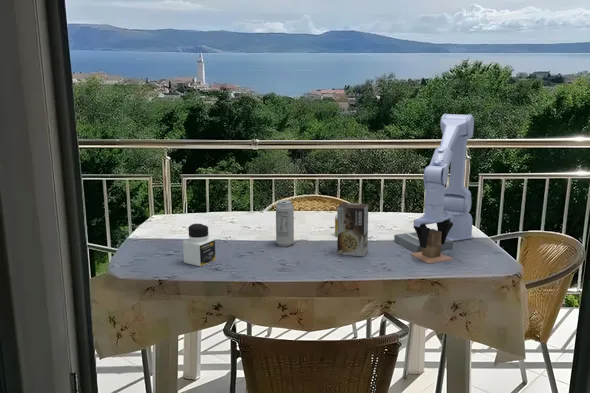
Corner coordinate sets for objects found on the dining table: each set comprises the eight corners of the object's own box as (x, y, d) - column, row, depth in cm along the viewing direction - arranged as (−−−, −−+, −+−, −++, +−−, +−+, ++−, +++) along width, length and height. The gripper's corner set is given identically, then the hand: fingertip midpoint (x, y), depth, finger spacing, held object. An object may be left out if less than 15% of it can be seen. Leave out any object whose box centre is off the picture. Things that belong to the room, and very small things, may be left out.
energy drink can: (297, 244, 195) (297, 201, 192) (285, 248, 191) (284, 204, 188) (284, 240, 199) (284, 199, 196) (272, 244, 195) (272, 202, 192)
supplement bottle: (348, 237, 203) (349, 211, 200) (333, 237, 204) (334, 210, 201) (350, 233, 208) (351, 207, 206) (335, 232, 209) (336, 207, 207)
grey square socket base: (427, 237, 203) (428, 227, 202) (452, 248, 190) (453, 238, 190) (394, 241, 198) (394, 231, 197) (417, 253, 185) (417, 243, 184)
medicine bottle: (200, 267, 174) (199, 229, 171) (183, 262, 177) (181, 225, 175) (216, 260, 180) (214, 223, 177) (198, 256, 183) (197, 220, 181)
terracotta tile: (434, 251, 187) (434, 249, 187) (452, 259, 179) (452, 258, 179) (411, 254, 184) (411, 253, 184) (428, 263, 176) (428, 261, 176)
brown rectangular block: (431, 252, 184) (432, 228, 182) (440, 256, 181) (441, 231, 179) (422, 254, 182) (423, 230, 180) (430, 258, 179) (432, 233, 177)
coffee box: (368, 251, 188) (369, 203, 184) (363, 257, 182) (365, 208, 178) (341, 248, 191) (341, 201, 187) (336, 254, 185) (336, 206, 181)
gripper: (442, 198, 184) (440, 238, 187) (407, 203, 177) (406, 245, 180) (458, 202, 178) (456, 244, 181) (423, 208, 171) (421, 251, 174)
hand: (432, 245), depth 180 cm, fingers open, 7 cm apart
